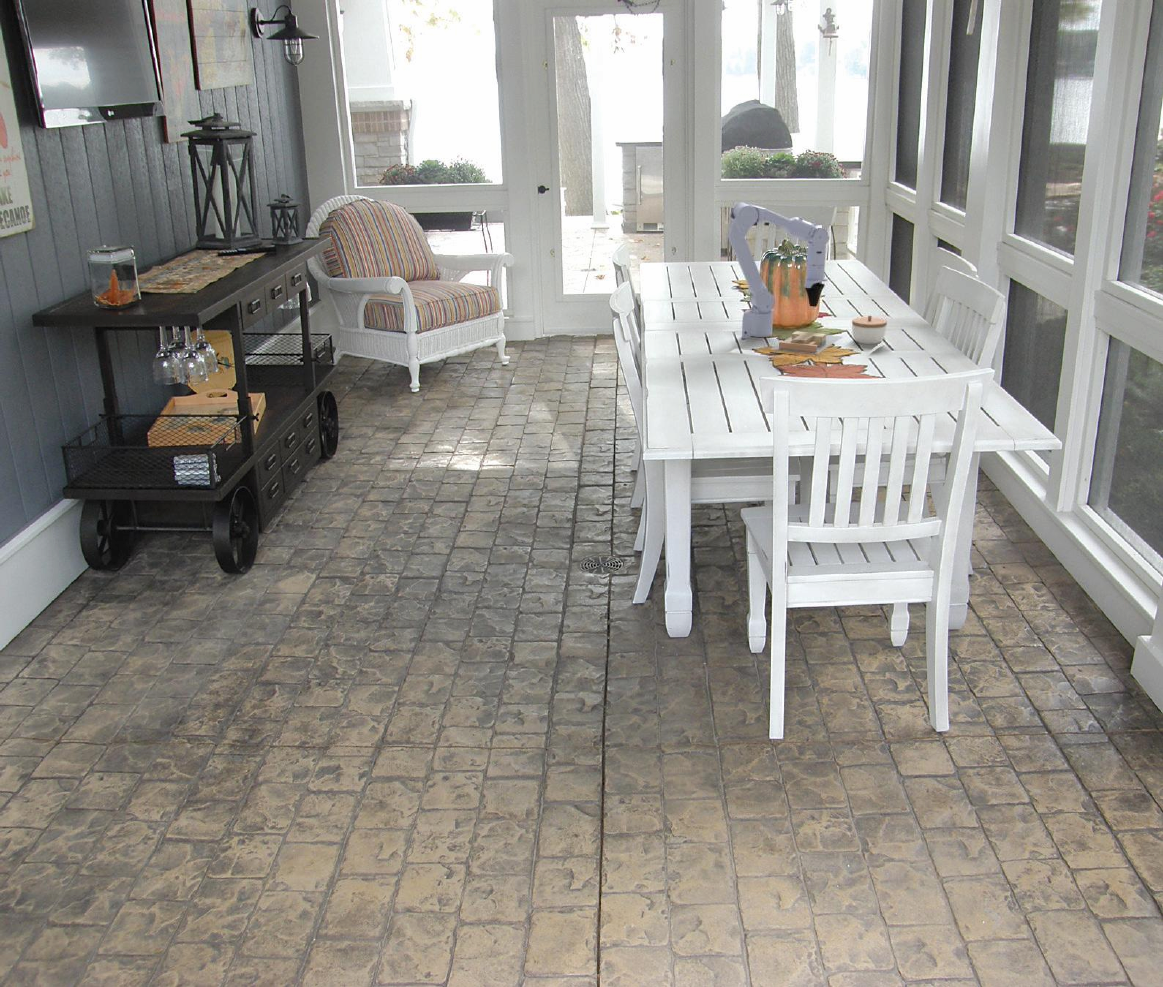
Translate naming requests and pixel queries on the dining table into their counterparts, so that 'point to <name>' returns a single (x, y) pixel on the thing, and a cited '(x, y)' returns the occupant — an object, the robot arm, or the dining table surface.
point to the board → (804, 346)
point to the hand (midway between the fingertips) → (813, 306)
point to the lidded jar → (868, 329)
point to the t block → (809, 338)
